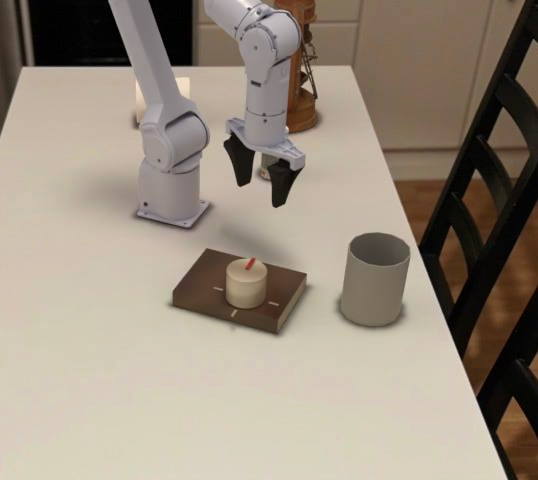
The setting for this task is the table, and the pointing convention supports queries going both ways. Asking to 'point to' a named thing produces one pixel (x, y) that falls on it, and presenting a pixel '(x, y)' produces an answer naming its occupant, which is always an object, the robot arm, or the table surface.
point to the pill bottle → (268, 162)
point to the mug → (141, 105)
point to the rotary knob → (246, 283)
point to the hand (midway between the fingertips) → (261, 194)
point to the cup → (375, 278)
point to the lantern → (299, 99)
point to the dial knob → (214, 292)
